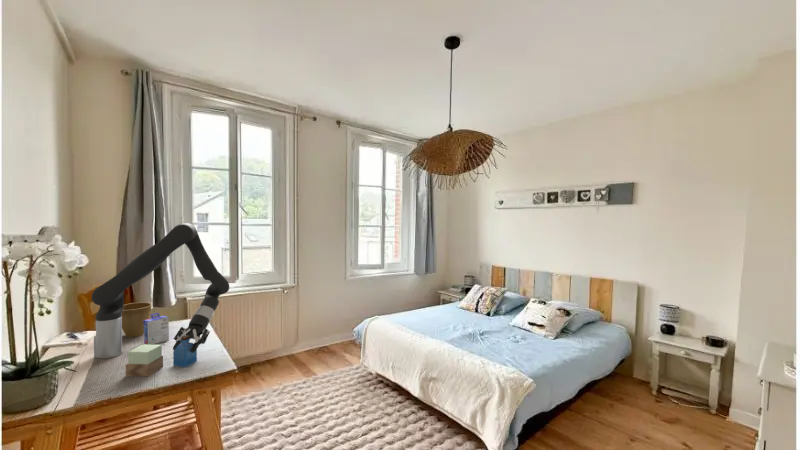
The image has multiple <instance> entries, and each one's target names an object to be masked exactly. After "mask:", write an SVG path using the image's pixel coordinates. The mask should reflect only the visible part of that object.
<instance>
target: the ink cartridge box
mask: <svg viewBox="0 0 800 450" xmlns="http://www.w3.org/2000/svg"><path fill="white" fill-rule="evenodd" d="M150 316H151V317H150V318H149V319H147V320H143V323H144V334H143V344H146V345H156V344H160V343H162V342H167V341H170V332H169V331H170V330H169V329H170V327H169V322H170V321H169V320H170V319H169V316H166V315H160V312H156V313H150Z"/></svg>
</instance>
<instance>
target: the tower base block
mask: <svg viewBox="0 0 800 450" xmlns="http://www.w3.org/2000/svg"><path fill="white" fill-rule="evenodd" d="M163 367H164V355H162V356H161V357H160V358H158V359H156V360H154V361H153V362H151V363H149V364H128V363H126V364H125V377H149V376H151V375H153V374H155V372H157V371H159V370H160V369H161V368H163Z"/></svg>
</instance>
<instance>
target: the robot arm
mask: <svg viewBox="0 0 800 450" xmlns="http://www.w3.org/2000/svg"><path fill="white" fill-rule="evenodd" d="M183 245H185V246H186V247H187V248H188V250H189V251H190V254H191V255H192V258H193V261H194V264H195V267H196V268H197V270H198V272H199V273H200V275H201V276H202V278H203V279H204V280H205V281H209V282H211V283H210V284H209V286H208V287H207V289H206V292H205V295H204V298H203V300H202V302H201V303H200V305H199V307H197V309H196V310H195V312H194V315H193V316H192V318H191V319H190V320H189V322H188V323H189V324H188V326H187V328H184V327H183V326H181V327H180V328H179V330H178V331H177V333H176V334H175V336H174V337H173V340H174V341H175V343H174V345H173V347H172V350H173V351H174V350H175V348H176V347H177V345H179V344H181V337H182V336H185V335H189V338H190V340H191V339H193V340H194V342H193V346H192V348H191V349H190V352H192V353H194V352H195V351H196V350H197V351H198V348H199V346H200V345H203V344H206V342H207V340H208V337H209V335H210V332H211V331H210V330H209V329H207V328H208V326H209V323H210V322H211V320H212V319H213V316H214V313H215V311H216V310H217V308H218V306H219V303H220V301H219V297H220V296H222V295H223V294H226V293H228V292H229V291H230V283H229V281H228V280H227V278H225V276H224V275H223V274H222V273H221V272H220V271H218V269H217V267H216V266H215V264H214V263H213V261H212V259H211V258H210V256H209V254H208V253H207V251H206V249H205V247H204V245H203V243H202V241H201V238H200V236H199V233H198V230H197V228H196V226H194V224H191V223H190V222H189V223H188V222H186V223H185V222H184V223H180V224H177V225H175V226H174V227H173V228H172V229H171V230H170V231H169V232H168V233H167V234H166V235H165V236H164V237H163V238H162V239H160V240H159V241H158V242H156V243H155V244H153V245H152V246H150V247H149V248H147V249H146V250H145V251H143V252H142V253H140V254H139V255H138V256H136V257H135V258H134V259H132V260H131V261H130V262H129V263H128V264H127V265H126V266H125V267H124V268H122V269H121V270H120V271H119V272H118V273H117V274H116V275H114V276H113V277H112V278H110V279H109V280H107V281H105V282H104V283H102V284H101V285H99V286H97V287H96V288H95V289H94V290H93V292H92V294H91V301H92V303H93V304H94V305H97V306H99V309H98V310H97V313H96V314H95V335H94V336H93V357H94V358H97V359H104V360H105V359H111V358H114V357H117V356H120V355H122V353H123V329H122V311H123V308H124V305H125V290H126V289H128V288H129V287H130V286H132V285H133V284H136V283H137V282H139V281H140V280H143V279H144V278H146V277H147V276H148V275H151V273H153V272H154V271H155V270H156V269H158V268H159V267H160V266H161V265H162V264H163V263H164V262H165V261H166V260H167V259H168V257H169V256H170V255H171V254H172V253H173V252H174V251H176V250H178V249H179V248H180V247H181V246H183Z"/></svg>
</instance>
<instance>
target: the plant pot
mask: <svg viewBox="0 0 800 450" xmlns="http://www.w3.org/2000/svg"><path fill="white" fill-rule="evenodd" d="M151 310H152V303H151V302H131V303H127V304H124V308H123V311H122V332H123V333H124V334H125V336H126V338H135V337H140V336H144V323H143V320H147V319H150V316H151Z"/></svg>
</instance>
